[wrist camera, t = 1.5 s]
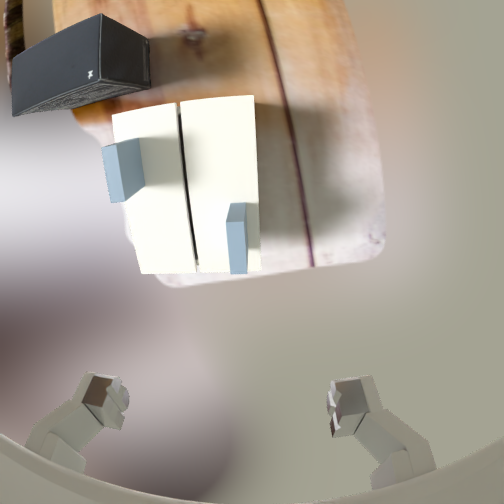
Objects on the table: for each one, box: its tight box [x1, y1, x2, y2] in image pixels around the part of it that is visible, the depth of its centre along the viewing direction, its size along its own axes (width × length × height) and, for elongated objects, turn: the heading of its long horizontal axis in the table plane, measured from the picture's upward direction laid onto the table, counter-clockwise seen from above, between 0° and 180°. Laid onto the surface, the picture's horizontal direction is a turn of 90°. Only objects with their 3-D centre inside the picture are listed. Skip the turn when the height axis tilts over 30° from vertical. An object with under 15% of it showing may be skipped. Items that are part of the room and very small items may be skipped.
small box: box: [12, 13, 151, 117], centre depth 18 cm, size 11×6×10 cm, turn 92°
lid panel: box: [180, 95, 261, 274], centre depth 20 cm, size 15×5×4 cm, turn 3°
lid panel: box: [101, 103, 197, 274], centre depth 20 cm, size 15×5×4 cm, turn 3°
